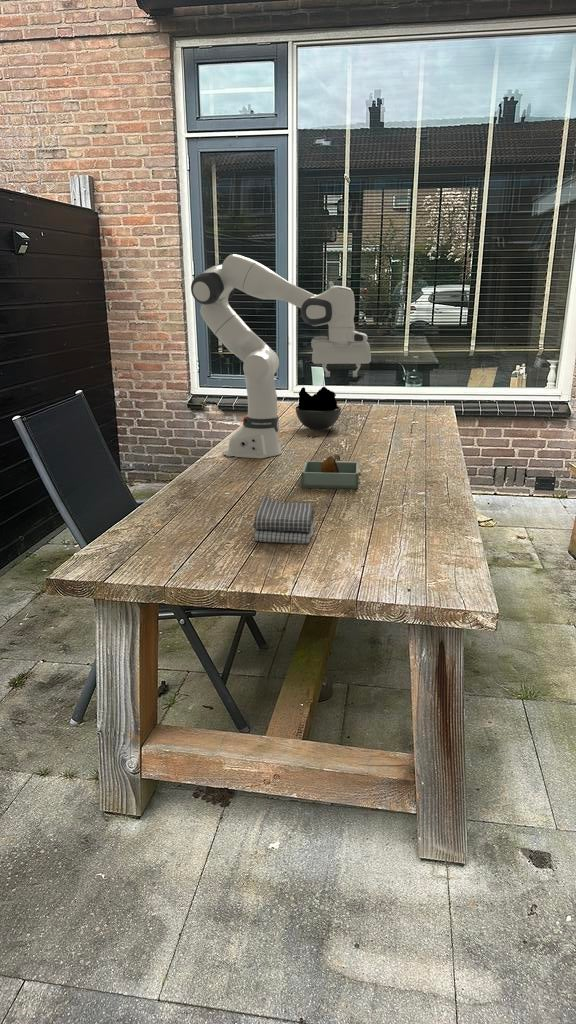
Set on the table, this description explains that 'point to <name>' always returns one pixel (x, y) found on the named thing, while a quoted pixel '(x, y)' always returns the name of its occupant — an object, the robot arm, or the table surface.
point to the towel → (284, 522)
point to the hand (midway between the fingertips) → (341, 376)
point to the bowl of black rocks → (318, 409)
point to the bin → (330, 476)
